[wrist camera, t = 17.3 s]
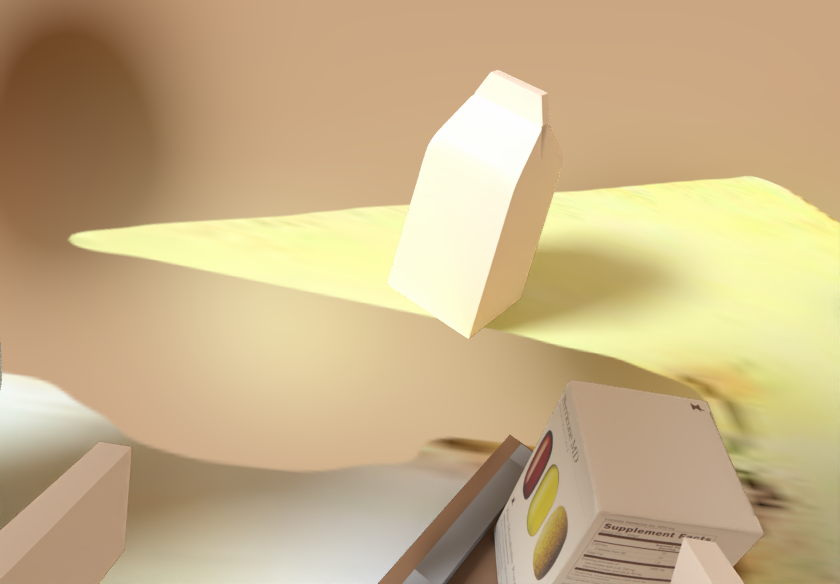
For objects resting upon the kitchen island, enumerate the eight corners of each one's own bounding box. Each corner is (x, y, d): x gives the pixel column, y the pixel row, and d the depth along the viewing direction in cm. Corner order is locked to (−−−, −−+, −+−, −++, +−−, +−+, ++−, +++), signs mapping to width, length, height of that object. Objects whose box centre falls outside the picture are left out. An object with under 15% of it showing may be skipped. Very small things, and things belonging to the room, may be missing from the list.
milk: (387, 284, 77) (435, 68, 61) (444, 250, 85) (499, 51, 69) (468, 339, 72) (543, 120, 57) (520, 297, 80) (599, 96, 65)
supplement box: (490, 526, 50) (565, 372, 40) (605, 541, 51) (707, 394, 41) (502, 660, 42) (598, 512, 32) (637, 674, 43) (772, 534, 33)
